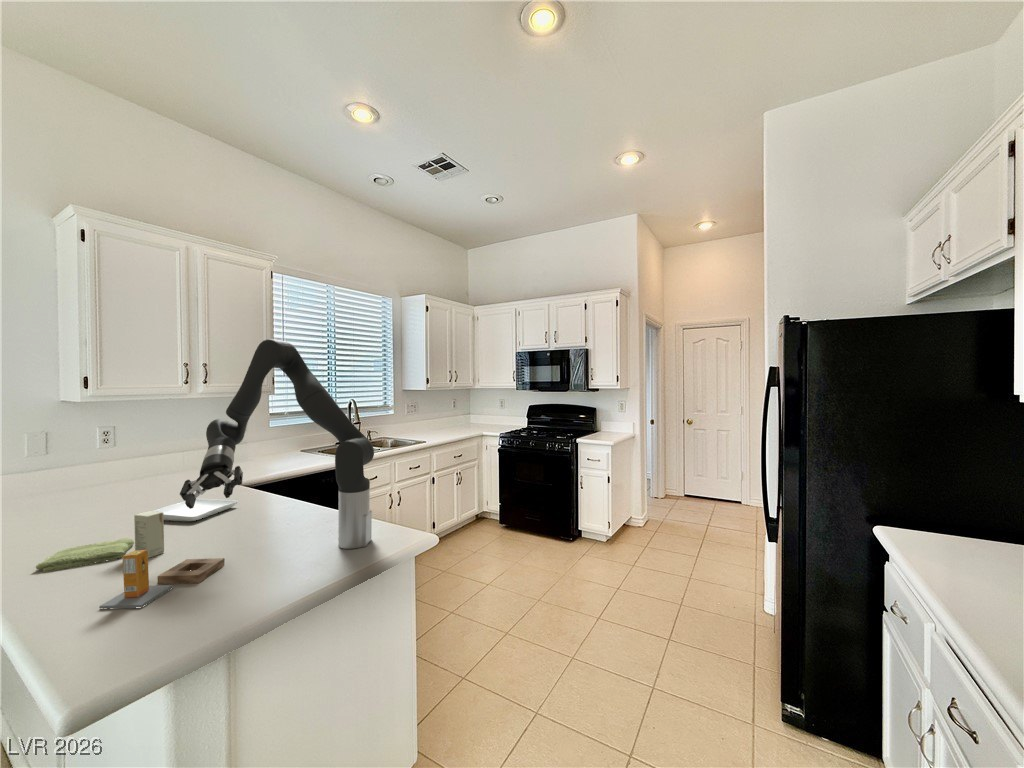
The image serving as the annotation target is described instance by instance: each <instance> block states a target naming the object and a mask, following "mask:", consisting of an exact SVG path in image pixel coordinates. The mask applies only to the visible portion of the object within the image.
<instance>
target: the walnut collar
mask: <svg viewBox="0 0 1024 768" xmlns="http://www.w3.org/2000/svg"><path fill="white" fill-rule="evenodd" d="M224 566H225V558H224V557H223V558H218V557H217V558H186V559H184V560H183V561H181V562H179V563H178V564H176V565H175V566H173V567H171V568H169V569H168V570H166V571H164V572H162V573H160V574H158V575H157V585H168V584H167V583H178V584H200V583H201V582H202V581H204V580H205V579H207V578H208V577H210V576H211V575H213V574H214V573H215V571H216V572H217V571H219V570H220V569H221V568H223V567H224ZM190 570H193V571H190ZM212 573H213V574H212ZM162 583H164V584H162Z"/></svg>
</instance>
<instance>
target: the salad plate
mask: <svg viewBox="0 0 1024 768" xmlns="http://www.w3.org/2000/svg"><path fill="white" fill-rule="evenodd" d="M185 502H186V501H184V500H183V501H181V502H178V503H173V504H170V505H167V506H163V507H160V508H158V509H155V510H153V511H156V512H163V519H164V521H169V520H170V522H172V521H173V522H195V521H196V520H197V521H199V520H203V519H205V518H208V517H211V516H213V515H215V514H219V513H221V512H223V511H225V510H229V509H230V508H233V507H234V506H236V505H237V504H238V502H239V500H233V499H215V498H196V501H195V504H194V508H191V509H190V508H189V507H187V506H186V504H185ZM218 512H219V513H218ZM210 515H211V516H210ZM202 518H203V519H202ZM197 521H196V522H197Z"/></svg>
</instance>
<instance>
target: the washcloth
mask: <svg viewBox="0 0 1024 768" xmlns="http://www.w3.org/2000/svg"><path fill="white" fill-rule="evenodd" d="M133 546H135V540H133V539H132V538H130V537H125V538H124V537H123V538H120V539H115V540H111V541H102V542H98V543H97V542H96V543H93V544H85V545H84V544H83V545H79V546H75V547H73V546H72V547H69V548H65V549H62V550H59V551H57V552H55V553H54V554H52V555H50V556H48V557H46V558H45V559H44V561H42V562H41V563H37V564H36V566H35V568H36V570H42V572H43V573H47V572H48V573H49V572H51V571H52V572H53V571H58V570H65V569H70V567H71V568H76V567H75V566H77V567H81V566H80V565H82V566H86V565H85V564H88V565H92V564H91V563H94V564H96V563H95V562H100V563H102V562H101V561H105V562H107V561H106V560H110V561H112V560H111V559H116V558H120V559H122V558H123V556H125V555H126V554H127V551H128V550H130V549H131V548H132V547H133ZM121 557H122V558H121Z"/></svg>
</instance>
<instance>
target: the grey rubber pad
mask: <svg viewBox="0 0 1024 768" xmlns="http://www.w3.org/2000/svg"><path fill="white" fill-rule="evenodd" d="M173 585H174V584H173ZM173 585H172V584H158V585H149V590H148V591H147V592H145V593H144V594H142V595H141V596H139V597H134V598H124V591H123V592H122V593H120V594H118V595H116V596H114V597H113V598H111V599H109V600H108V601H106V602H104V603H102V604H100V605H99V606H98V607H99V608H136V607H143V606H144V605H146V604H148V603H149V602H151V601H152V602H154V601H155V600H157V599H159V598H160V597H161V595H162V594H163V595H165V594H166V593H168V592H169V591H170V589H171V588H172V589H173V588H174V586H173ZM172 589H171V590H172ZM168 590H169V591H168ZM167 591H168V592H167ZM165 592H166V593H165ZM164 593H165V594H164ZM163 595H162V596H163ZM159 596H160V597H159ZM158 597H159V598H158ZM156 598H157V599H156ZM154 599H155V600H154ZM153 600H154V601H153ZM152 602H151V603H152ZM149 604H150V603H149ZM149 604H148V605H149ZM146 606H147V605H146ZM143 608H144V607H143ZM136 609H137V608H136Z"/></svg>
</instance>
